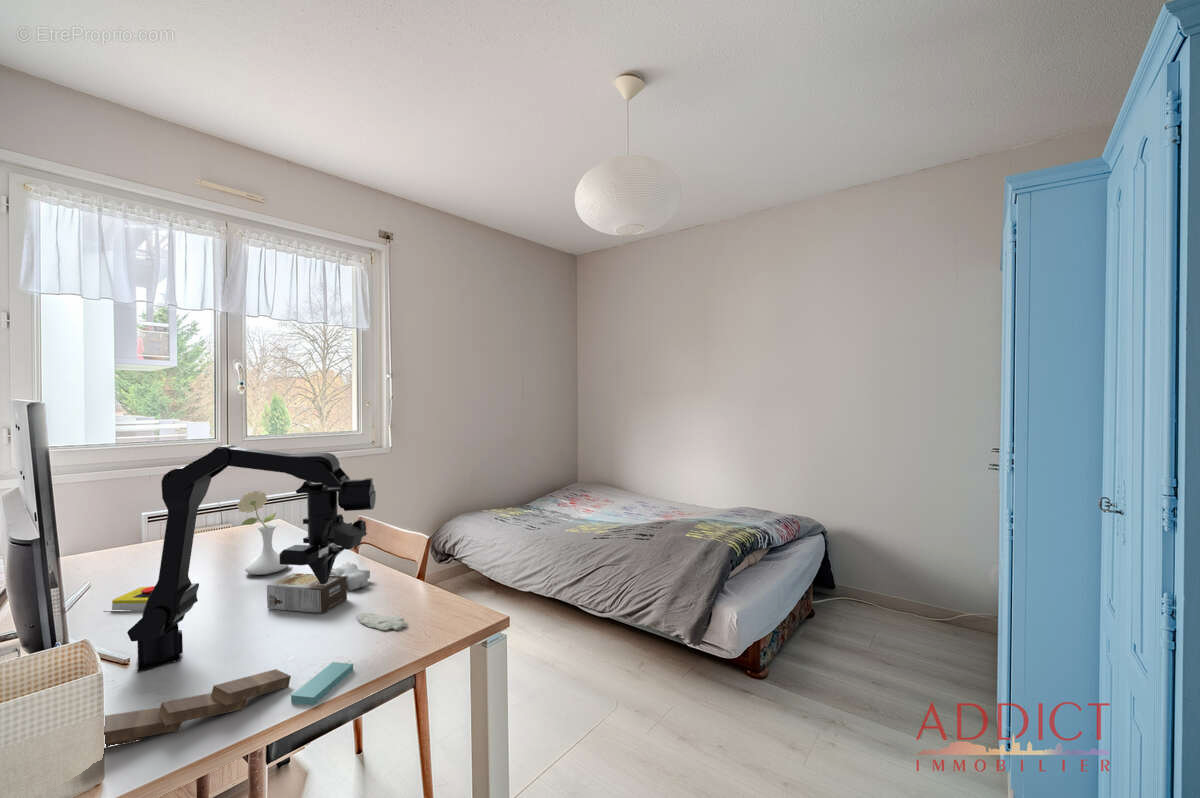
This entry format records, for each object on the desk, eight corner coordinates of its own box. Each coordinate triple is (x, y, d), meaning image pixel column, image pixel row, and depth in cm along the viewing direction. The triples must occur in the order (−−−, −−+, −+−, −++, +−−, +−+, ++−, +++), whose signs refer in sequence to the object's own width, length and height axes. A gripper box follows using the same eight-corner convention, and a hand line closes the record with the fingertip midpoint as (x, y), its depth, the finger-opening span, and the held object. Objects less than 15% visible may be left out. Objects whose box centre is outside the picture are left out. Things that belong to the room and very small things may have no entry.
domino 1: (178, 730, 82) (84, 747, 74) (175, 715, 85) (85, 730, 78) (182, 718, 82) (89, 734, 75) (179, 704, 85) (89, 718, 78)
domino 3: (288, 686, 94) (226, 705, 84) (273, 679, 96) (210, 696, 86) (290, 676, 95) (229, 693, 85) (275, 669, 96) (213, 685, 87)
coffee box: (293, 571, 136) (347, 575, 133) (294, 595, 136) (348, 599, 133) (265, 584, 127) (322, 588, 124) (266, 610, 127) (323, 614, 124)
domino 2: (245, 708, 88) (165, 725, 79) (236, 699, 90) (158, 714, 82) (247, 697, 88) (168, 713, 80) (239, 688, 91) (161, 702, 82)
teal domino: (332, 662, 100) (291, 695, 89) (353, 663, 100) (313, 697, 89) (332, 671, 100) (291, 705, 89) (353, 672, 100) (313, 707, 89)
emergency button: (161, 595, 127) (100, 596, 127) (161, 612, 127) (100, 613, 127) (190, 581, 136) (133, 582, 136) (191, 597, 136) (134, 598, 136)
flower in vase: (288, 562, 162) (286, 484, 162) (291, 572, 153) (290, 490, 152) (237, 571, 154) (236, 489, 154) (238, 582, 145) (237, 495, 145)
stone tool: (413, 627, 119) (366, 613, 125) (413, 618, 119) (366, 604, 125) (394, 639, 114) (346, 623, 120) (394, 629, 114) (346, 615, 120)
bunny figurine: (343, 581, 135) (319, 563, 145) (342, 599, 136) (318, 580, 145) (377, 571, 143) (352, 554, 152) (377, 588, 143) (351, 571, 153)
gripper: (327, 524, 99) (329, 603, 100) (381, 503, 118) (382, 570, 118) (276, 523, 101) (278, 600, 101) (337, 502, 119) (338, 568, 120)
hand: (323, 583), depth 110 cm, fingers closed
